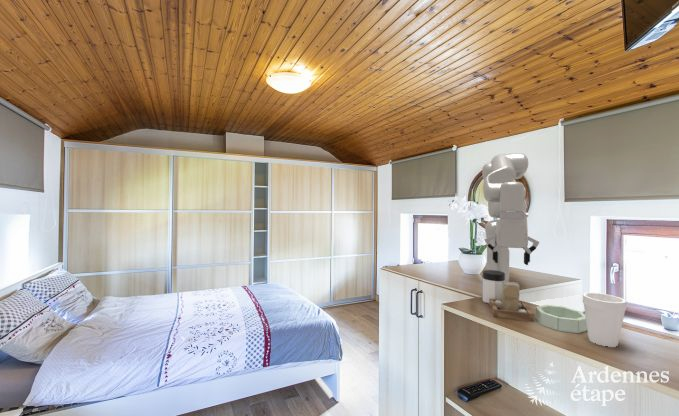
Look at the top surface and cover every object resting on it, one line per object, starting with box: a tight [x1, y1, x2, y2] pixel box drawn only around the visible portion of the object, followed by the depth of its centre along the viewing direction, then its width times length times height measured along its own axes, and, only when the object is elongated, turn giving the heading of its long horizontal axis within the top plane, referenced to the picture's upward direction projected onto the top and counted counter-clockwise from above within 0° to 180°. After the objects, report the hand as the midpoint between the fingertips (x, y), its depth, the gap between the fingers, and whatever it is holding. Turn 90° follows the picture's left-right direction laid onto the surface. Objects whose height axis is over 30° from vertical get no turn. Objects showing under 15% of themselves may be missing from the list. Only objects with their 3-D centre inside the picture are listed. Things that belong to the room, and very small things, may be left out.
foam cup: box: [582, 292, 627, 348], centre depth 87 cm, size 10×9×13 cm
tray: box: [488, 299, 535, 322], centre depth 110 cm, size 13×12×2 cm
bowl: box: [535, 304, 588, 334], centre depth 100 cm, size 13×13×4 cm
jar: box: [481, 269, 505, 304], centre depth 122 cm, size 9×8×12 cm
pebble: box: [494, 300, 501, 309], centre depth 115 cm, size 3×3×3 cm
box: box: [500, 281, 520, 311], centre depth 110 cm, size 5×4×11 cm
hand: (510, 263), depth 109 cm, fingers open, 9 cm apart
